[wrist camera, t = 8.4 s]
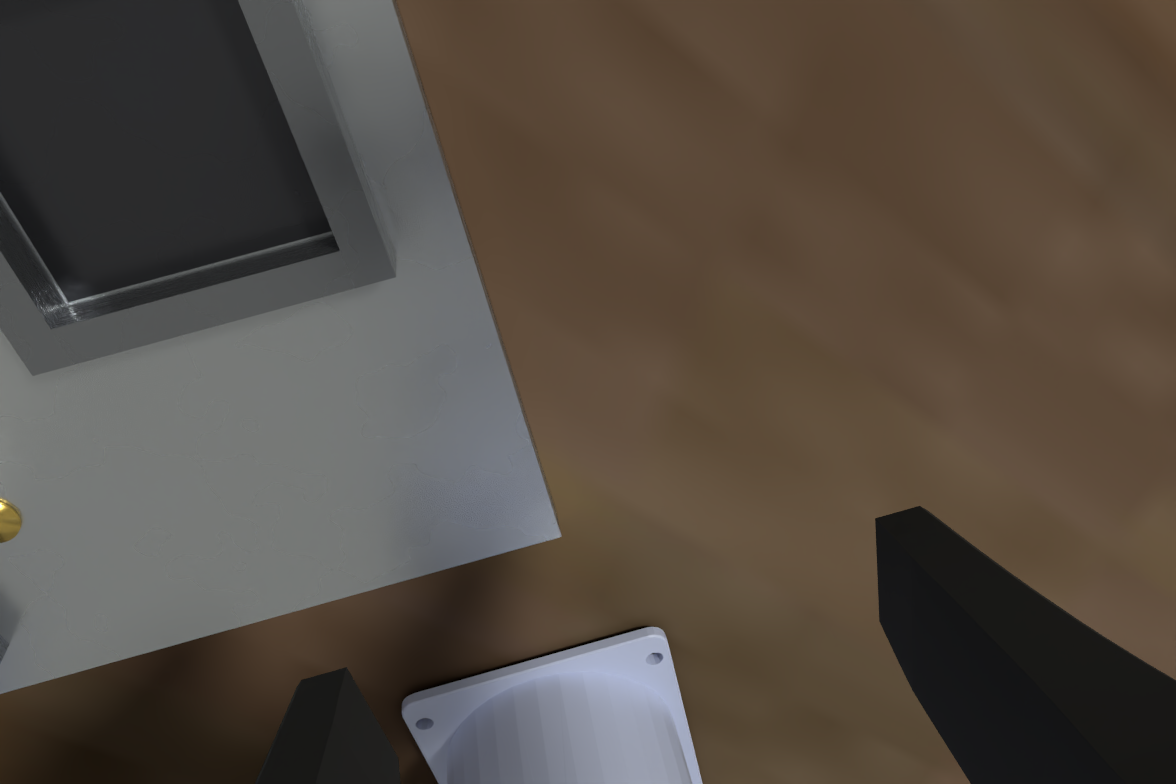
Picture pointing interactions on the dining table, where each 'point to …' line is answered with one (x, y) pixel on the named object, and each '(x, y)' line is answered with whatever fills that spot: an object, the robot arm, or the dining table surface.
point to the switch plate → (234, 328)
